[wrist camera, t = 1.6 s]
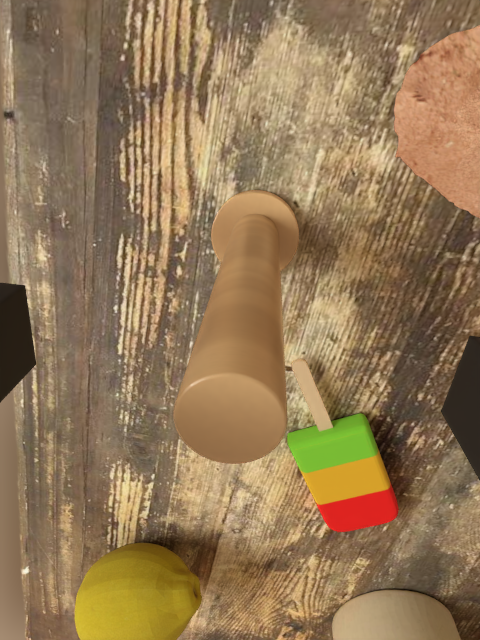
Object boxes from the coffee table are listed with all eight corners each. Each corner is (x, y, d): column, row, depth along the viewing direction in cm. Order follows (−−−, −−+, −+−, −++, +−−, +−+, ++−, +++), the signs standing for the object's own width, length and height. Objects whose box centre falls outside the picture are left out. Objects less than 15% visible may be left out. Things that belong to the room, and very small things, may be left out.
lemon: (110, 584, 40) (74, 689, 32) (76, 528, 36) (29, 631, 29) (222, 574, 38) (210, 683, 31) (197, 514, 35) (178, 620, 27)
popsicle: (327, 516, 34) (330, 537, 32) (256, 365, 28) (255, 382, 26) (397, 501, 32) (404, 522, 31) (338, 339, 26) (343, 355, 25)
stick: (215, 185, 23) (120, 316, 9) (304, 194, 23) (359, 342, 8) (210, 269, 25) (127, 485, 11) (291, 278, 25) (317, 508, 11)
